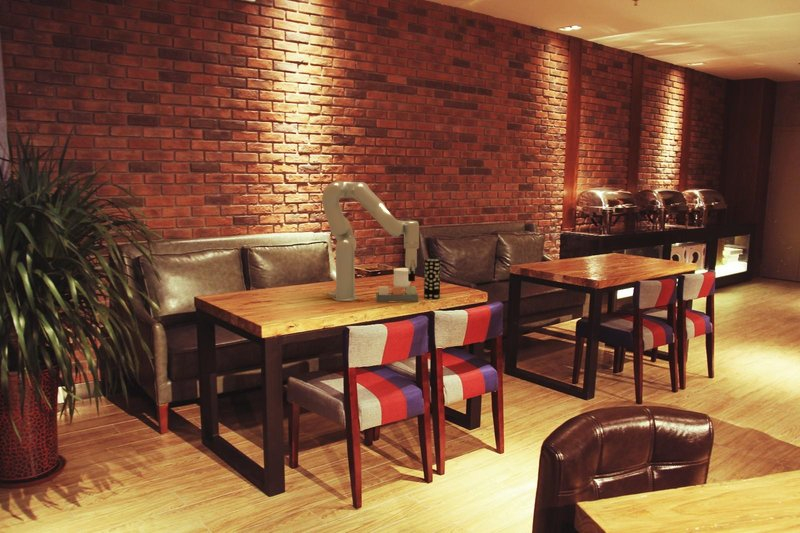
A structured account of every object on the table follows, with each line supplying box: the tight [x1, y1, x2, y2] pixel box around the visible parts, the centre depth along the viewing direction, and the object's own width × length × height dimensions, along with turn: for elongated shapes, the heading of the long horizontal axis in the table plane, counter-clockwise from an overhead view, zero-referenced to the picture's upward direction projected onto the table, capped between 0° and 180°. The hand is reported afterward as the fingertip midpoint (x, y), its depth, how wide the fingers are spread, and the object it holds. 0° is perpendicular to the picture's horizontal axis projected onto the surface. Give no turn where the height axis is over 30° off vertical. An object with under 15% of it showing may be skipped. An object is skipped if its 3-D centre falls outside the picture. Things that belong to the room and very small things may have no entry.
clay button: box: [391, 285, 403, 295], centre depth 328 cm, size 5×5×5 cm
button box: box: [375, 291, 419, 303], centre depth 328 cm, size 21×7×4 cm, turn 96°
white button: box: [377, 285, 389, 295], centre depth 327 cm, size 5×5×5 cm
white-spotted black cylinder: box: [423, 258, 442, 300], centre depth 335 cm, size 8×8×20 cm
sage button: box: [404, 285, 417, 295], centre depth 329 cm, size 5×5×5 cm
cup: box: [392, 267, 411, 288], centre depth 368 cm, size 10×10×10 cm
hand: (411, 281), depth 328 cm, fingers closed
